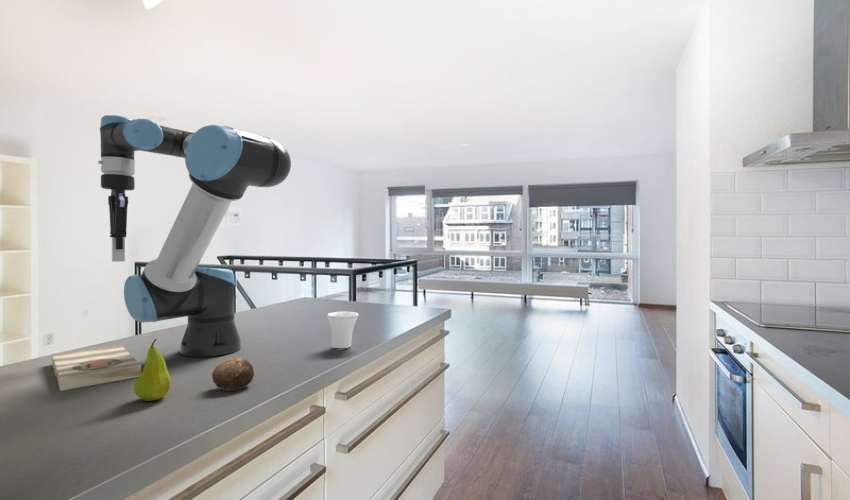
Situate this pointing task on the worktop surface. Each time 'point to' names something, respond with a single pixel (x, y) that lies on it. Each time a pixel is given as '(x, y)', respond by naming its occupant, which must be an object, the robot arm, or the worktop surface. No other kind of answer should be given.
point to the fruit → (153, 377)
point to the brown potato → (233, 374)
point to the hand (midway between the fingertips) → (118, 261)
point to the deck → (77, 371)
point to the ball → (99, 363)
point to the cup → (342, 328)
